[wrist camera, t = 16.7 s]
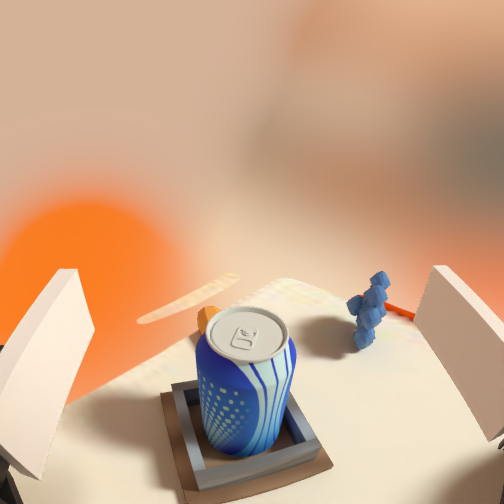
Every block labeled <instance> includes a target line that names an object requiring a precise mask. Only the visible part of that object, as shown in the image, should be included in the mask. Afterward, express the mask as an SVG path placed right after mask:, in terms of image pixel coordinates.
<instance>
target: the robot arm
mask: <svg viewBox="0 0 504 504" xmlns="http://www.w3.org/2000/svg"><path fill="white" fill-rule="evenodd" d="M413 322H414V324H415V325H416V326H417V328H418V329H419V331H420V332H421V333H422V335H423V336H424V338H425V339H426V341H427V342H428V344H429V345H430V347H431V348H432V350H433V351H434V353H435V354H436V356H437V357H438V359H439V360H440V362H441V363H442V365H443V366H444V368H445V369H446V371H447V372H448V374H449V376H450V377H451V379H452V380H453V382H454V384H455V385H456V387H457V388H458V390H459V392H460V393H461V395H462V397H463V398H464V400H465V401H466V403H467V405H468V407H469V408H470V410H471V412H472V413H473V415H474V417H475V419H476V420H477V422H478V424H479V426H480V427H481V429H482V431H483V433H484V435H485V436H486V438H487V440H488V442H490V441H492V440H494V439H495V438H497V437H499V436H501V435H502V434H503V433H504V323H503V322H502V321H501V320H500V319H499V318H498V317H497V316H496V315H495V314H494V313H493V312H492V310H491V309H490V308H489V307H488V306H487V305H486V304H485V303H484V302H483V301H482V300H481V299H480V298H479V297H478V296H477V295H476V294H475V293H474V292H473V291H472V290H471V289H470V288H469V287H468V286H467V285H466V284H465V283H464V282H463V281H462V280H461V279H460V278H459V277H458V276H457V275H456V274H455V273H454V272H453V271H452V270H451V269H449V267H448V266H446V265H439V266H432V269H431V273H430V276H429V278H428V281H427V284H426V287H425V290H424V293H423V296H422V299H421V301H420V304H419V307H418V309H417V312H416V315H415V317H414V320H413ZM94 331H95V329H94V326H93V323H92V320H91V317H90V314H89V311H88V307H87V304H86V300H85V297H84V293H83V290H82V286H81V283H80V279H79V275H78V271H77V269H59V270H58V271H57V273H56V274H55V275H54V277H53V278H52V279H51V280H50V282H49V283H48V284H47V285H46V287H45V288H44V290H43V291H42V292H41V294H40V295H39V296H38V298H37V299H36V300H35V302H34V303H33V305H32V306H31V307H30V309H29V310H28V311H27V313H26V314H25V316H24V317H23V319H22V320H21V322H20V323H19V325H18V326H17V328H16V329H15V331H14V332H13V333H12V335H11V336H10V338H9V340H8V341H7V343H6V344H5V346H4V345H0V504H23V502H22V499H21V497H20V495H19V492H18V490H17V487H16V485H15V482H14V479H13V477H12V476H11V474H10V472H9V471H8V469H9V465H11V466H13V467H14V468H15V469H16V470H17V471H18V472H19V473H21V474H23V475H26V476H29V477H31V478H34V479H37V480H40V481H41V479H42V476H43V472H44V468H45V465H46V461H47V457H48V454H49V451H50V447H51V444H52V441H53V438H54V435H55V431H56V428H57V425H58V422H59V419H60V416H61V414H62V411H63V408H64V405H65V402H66V400H67V397H68V394H69V391H70V389H71V386H72V384H73V381H74V378H75V376H76V373H77V371H78V368H79V366H80V363H81V361H82V359H83V356H84V354H85V351H86V349H87V347H88V344H89V342H90V340H91V337H92V335H93V333H94ZM503 446H504V439H503V440H502V441H501V443H500V444H499V446H498V449H501V448H502V447H503ZM503 450H504V449H503ZM500 504H504V486H503V492H502V497H501V501H500Z"/></svg>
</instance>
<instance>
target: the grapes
mask: <svg viewBox="0 0 504 504" xmlns="http://www.w3.org/2000/svg"><path fill="white" fill-rule="evenodd" d="M370 281H371V284H372V285H371V286H370V287H371V288H370V289H368V290H367V291H366V292H364V296H363V297H361V296H360V295H357V296H354V297H352V298H351V299H350V300H349V301H348V302H347V307H348V309H349V312H350V314H352V315H353V316H356V315H357V320H356V322H357V325H358V326H356V329H357V331H355V335H354V336H353V338H354V341H355V344H356V346H357V348H358V349H364V348H366V347H367V346H369V345H370V344H371V343H372V342H373V340H374V339H375V334H374V333H375V331H374V327H375V326H377V325H378V324H379V323H380V322H381V321H382V320H381V318H382V317H384V316H385V315H386V310H385V307H384V305H383V303H384V302H385V301H386V300H387V299H388V298H387V295H386V292H385V289H386V288H388V287H389V286H390V281H389V278H388V276H387V274H386V273H385V272H383V271H381V272H378V273H376V274H375V275H374V276H373V277H372V278H370Z"/></svg>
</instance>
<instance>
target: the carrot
mask: <svg viewBox="0 0 504 504" xmlns="http://www.w3.org/2000/svg"><path fill="white" fill-rule="evenodd" d="M218 312H220V310H219V309H218V308H216V307H215V306H208V307H204V308H203V309H201V310H200V311H199V312H198V318H197V319H198V327H199V330H200V332H201V335H202V334H203V333H204V332H205V331H206V326H207V324H208V322H209V320H210V319H211V318H212V317H213V316H214V315H215V314H217V313H218Z"/></svg>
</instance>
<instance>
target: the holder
mask: <svg viewBox="0 0 504 504" xmlns="http://www.w3.org/2000/svg"><path fill="white" fill-rule="evenodd" d="M171 386H172V392H165V393H160V395H161V400H162V405H163V410H164V415H165V420H166V424H167V429H168V433H169V438H170V442H171V446H172V450H173V454H174V458H175V462H176V466H177V470H178V474H179V477H180V481H181V484H182V488H183V491H184V495H185V498H186V501H187V504H222V503H227V502H231V501H235V500H239V499H243V498H247V497H251V496H254V495H258V494H261V493H265V492H268V491H271V490H274V489H278V488H281V487H284V486H287V485H290V484H292V483H295V482H298V481H301V480H303V479H306V478H309V477H311V476H314V475H316V474H319V473H321V472H324V471H326V470H329V469H331V468H332V467H333V463H332V461H331V460H330V458H329V456H328V455H327V453H326V452H325V450H324V448H323V447H322V445H321V443H320V442H319V440H318V438H317V437H316V435H315V433H314V432H313V430H312V428H311V427H310V425H309V423H308V422H307V420H306V418H305V416H304V415H303V413H302V411H301V410H300V408H299V406H298V405H297V403H296V401H295V399H294V398H293V396H292V394H291V392H290V391H289V394H288V398H287V402H286V406H285V410H284V414H283V418H282V422H281V426H280V430H279V434H278V437H277V439H276V441H275V442H274V443H273V445H272V446H271V447H270V448H269V449H267V450H266V451H264V452H263V453H261V454H258V455H255V456H251V457H234V456H229V455H226V454H224V453H222V452H220V451H218V450H217V449H215V448H214V447H213V446H212V445H211V444H210V443H209V441H208V440H207V438H206V436H205V433H204V429H203V421H202V413H201V404H200V395H199V386H198V380H193V381H187V382H181V383H175V384H171Z"/></svg>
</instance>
